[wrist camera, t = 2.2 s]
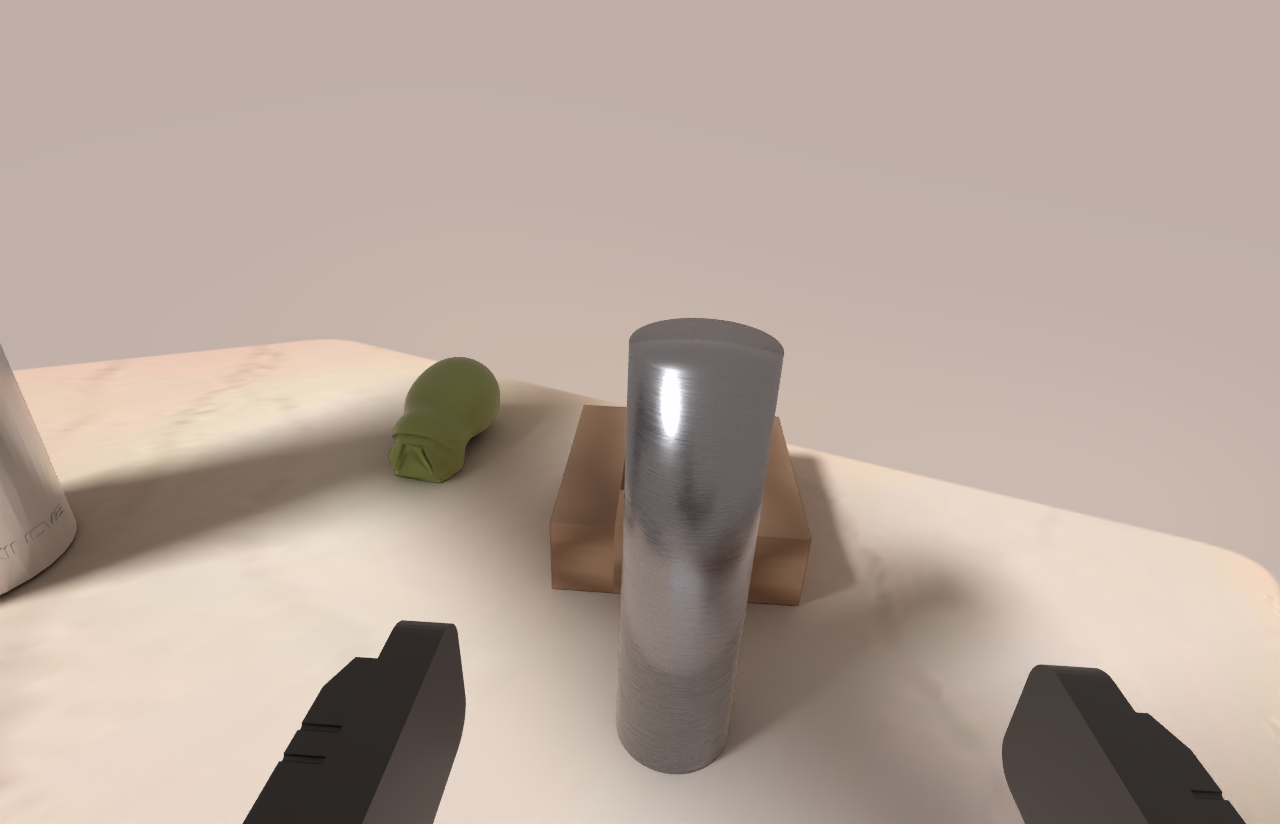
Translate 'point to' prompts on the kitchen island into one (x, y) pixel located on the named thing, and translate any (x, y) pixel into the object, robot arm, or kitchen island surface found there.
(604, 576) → the socket block
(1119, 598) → the kitchen island surface
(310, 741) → the robot arm
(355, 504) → the kitchen island surface
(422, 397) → the green rounded lump
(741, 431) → the pin
